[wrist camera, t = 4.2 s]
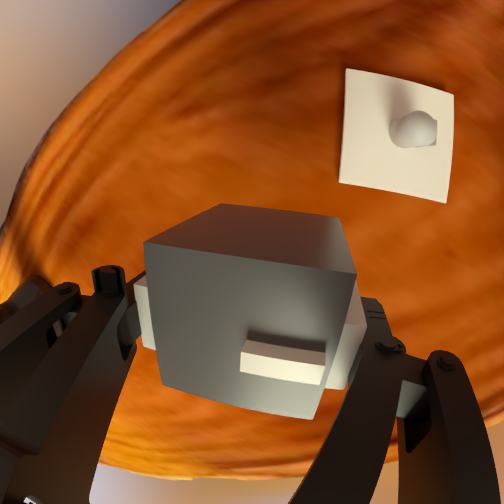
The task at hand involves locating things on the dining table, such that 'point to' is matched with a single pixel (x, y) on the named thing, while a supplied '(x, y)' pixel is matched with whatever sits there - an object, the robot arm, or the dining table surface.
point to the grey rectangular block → (250, 305)
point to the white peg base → (396, 135)
